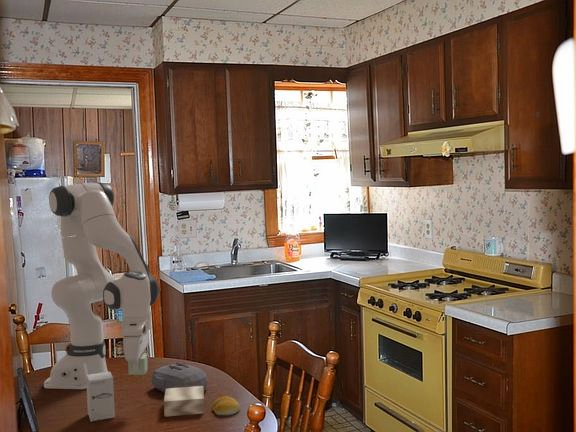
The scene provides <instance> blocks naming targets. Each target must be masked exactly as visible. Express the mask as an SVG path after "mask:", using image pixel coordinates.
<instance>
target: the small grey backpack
mask: <svg viewBox="0 0 576 432" xmlns="http://www.w3.org/2000/svg"><path fill="white" fill-rule="evenodd" d="M150 380H151V383H152V386H153V388H155V389H156V390H158V391H160V392H162V393H165V391H166V389H167V388H180V387H193V386H203V390H204V392H205V391H206V390H207V386H208V381H209V378H208V375H207V373H206V372H204V370H202V369H201V368H200V367H196V366H194V365H190V364H183V363H178V362H177V363H174V364H167V365H163V366H161V367H158V368H156V369H155V370H154V371H153V372H152V374H151V379H150Z"/></svg>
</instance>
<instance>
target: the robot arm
mask: <svg viewBox="0 0 576 432" xmlns="http://www.w3.org/2000/svg"><path fill="white" fill-rule="evenodd" d="M114 202H115V194H114V191H113V189H112V187H111V186H110V184H108V183H105V182H80V183H74V184H68V185H59V186H56V187H53V188H52V189H51V191H50V192H49V195H48V203H49V208H50V211H51V212H52V213H53V214H54V215H55V216H57V217H60V234H61V242H62V243H61V244H62V251H63V258H64V260H65V261H66V262H67V263H69V264H71V265H73V267H74V268H75V270H76V271H77V274H75V275H71V276H66V277H64V278H62V279H60V280H57V281H56V282H55V283H54V284H53V285H52V288H51V298H52V301H53V302H54V304H55V306H57V307H59V308H60V309H61V310H62V311H64V313H65V315H66V317H67V319H68V322H69V328H70V329H69V330H70V338H71V339H70V341H69V342H68V343H67V345H66V346H65V350H64V351H65V353H66V354H65V355H64V356H62V357H61V359H59V360H58V361H57V362H56V363H55V364H54V365H52V367H51V370H50V377H48V378H47V379H45V381H44V382H43V387H44V388H45V389H54V390H55V389H56V390H57V389H58V390H85V389H86V390H87V383H86V375H89V374H97V373H104V372H109V371H108V368H107V367H108V365H107V361H106V352H107V351H106V343H105V340H104V328H103V327H104V323H103V320H102V318H101V317H100V316H99V315H98V314H94V312H93V309H92V304H93V303H97V302H101V301H103V303H104V305H105V306H106V307H107V308H108V309H110V310H112V311H120V310H121V311H122V312H121V313H122V314H121V324H122V325H121V329H120V335H121V337H123V338H122V339H123V341H122V344H123V353H124V358H125V361H126V362H128V361H131V362H132V365H133V371H138V370H139V357H140V356H141V354H145V350H146V348H147V346H148V345H149V342H150V341H149V340H150V339H149V338H150V337H149V330H151V329H152V311H151V308H150V307H151V306H153V305H154V304H155V303H156V301H157V300H158V299H159V295H160V286H159V283H158V281H157V279H156V278H155V276H153V274H152V273H151V271H150V269H149V267H148V264H147V263H146V261H145V259H144V256H143V255H142V253H141V251H140V249H139V247H138V245H137V242H136V241H135V239H134V238H133V236H132V235H131V234H130V233H129V232H126V230H125V229H124V228H123V227H122V226H121V224H120V223H119V221H118V218H117V216H116V213H115V210H114V208H113V205H114V204H115V203H114ZM97 248H99V249H102V250H107V251H111V252H113V253H116V254H118V255H120V256H122V257H123V259H124V260H125V261H126V263H127V266H128V268H129V270H130V271H127V272H124V273H123V274H122V276H121V277H119V278H118V279H115V277H114V275H113V274H112V273H111V272H109V271H107V269H106V268H105V267H104V266H103V264H102V262H101V261H100V259H99V256H98V251H97Z"/></svg>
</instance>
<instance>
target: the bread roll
mask: <svg viewBox="0 0 576 432" xmlns="http://www.w3.org/2000/svg"><path fill="white" fill-rule="evenodd" d="M211 408H212V410H213V411H214V413H215V414H216V415H217V416H232V415H234V414H236V413H238V412H239V411H240V409H241V406H240V403H239V402H238V401H237V400H236V398H233V397H231V396H227V395H226V396H220V397H219V398H217V399H215V401H213V403H212V407H211Z"/></svg>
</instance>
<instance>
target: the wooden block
mask: <svg viewBox="0 0 576 432" xmlns="http://www.w3.org/2000/svg"><path fill="white" fill-rule="evenodd" d="M204 392H205V391H204V390H203V386H193V387H180V388H167V389H166V391H165V392H164V398H163V411H164V413H163V414H164V417H173V416H174V417H175V416H176V417H177V416H187V415H199V414H201V415H202V414H205V396H204V395H205V393H204Z"/></svg>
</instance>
